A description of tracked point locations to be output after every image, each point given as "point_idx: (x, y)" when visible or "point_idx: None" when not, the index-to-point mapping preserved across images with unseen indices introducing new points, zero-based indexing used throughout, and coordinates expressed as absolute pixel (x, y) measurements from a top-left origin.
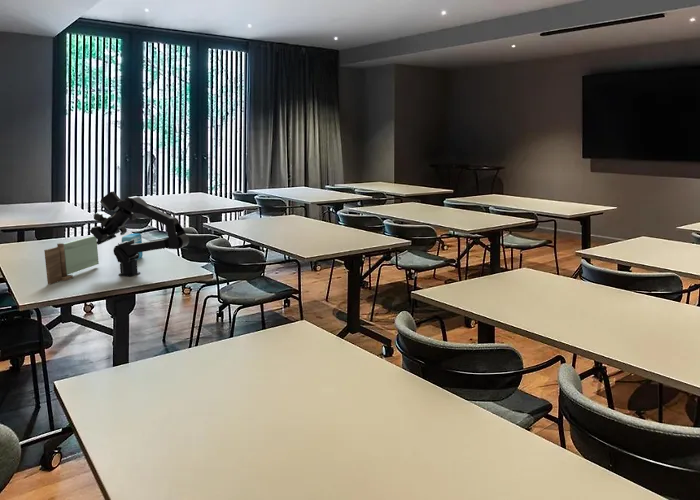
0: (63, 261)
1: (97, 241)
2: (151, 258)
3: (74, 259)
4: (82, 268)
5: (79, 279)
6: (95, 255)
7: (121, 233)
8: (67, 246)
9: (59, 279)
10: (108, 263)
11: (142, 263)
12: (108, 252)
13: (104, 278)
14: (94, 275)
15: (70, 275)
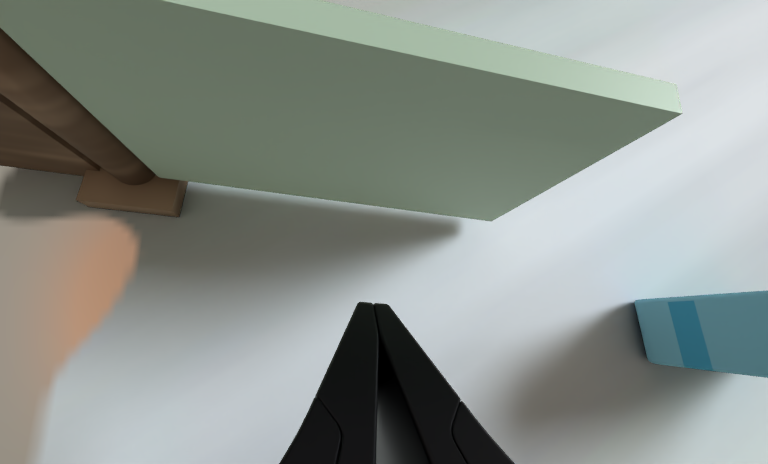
0: (35, 118)
1: (346, 332)
2: (754, 428)
3: (234, 147)
4: (329, 197)
5: (135, 280)
6: (499, 196)
7: None
8: (46, 13)
9: (76, 170)
10: (572, 233)
11: (635, 454)
12: (754, 118)
13: (167, 455)
14: (263, 319)
15: (162, 199)
